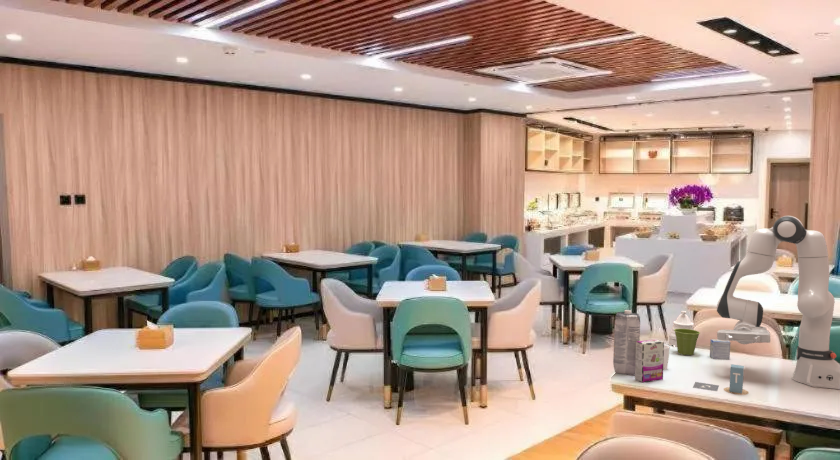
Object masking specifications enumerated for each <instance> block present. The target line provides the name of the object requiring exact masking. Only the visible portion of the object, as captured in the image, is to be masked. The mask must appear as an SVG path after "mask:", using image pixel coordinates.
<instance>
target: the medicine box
mask: <svg viewBox="0 0 840 460" xmlns="http://www.w3.org/2000/svg"><path fill="white" fill-rule="evenodd" d="M731 343H732V341H728V340H718V339H717V338H716V339H715V338H714V339H713V338H712V339H710V343H709V345H710V346H709V357H710V358H711V359H712V358H713V360H731V357H730V356H731Z"/></svg>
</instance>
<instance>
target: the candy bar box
mask: <svg viewBox="0 0 840 460" xmlns="http://www.w3.org/2000/svg"><path fill="white" fill-rule="evenodd" d="M664 345H665V341H663V340H659V339H648V340H640V341H637V342H636V360H635V375H634V380H636V381H638V382H641V383H649V382H654V381H661V380H662V381H663V380H664V370H663V359H664Z"/></svg>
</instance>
